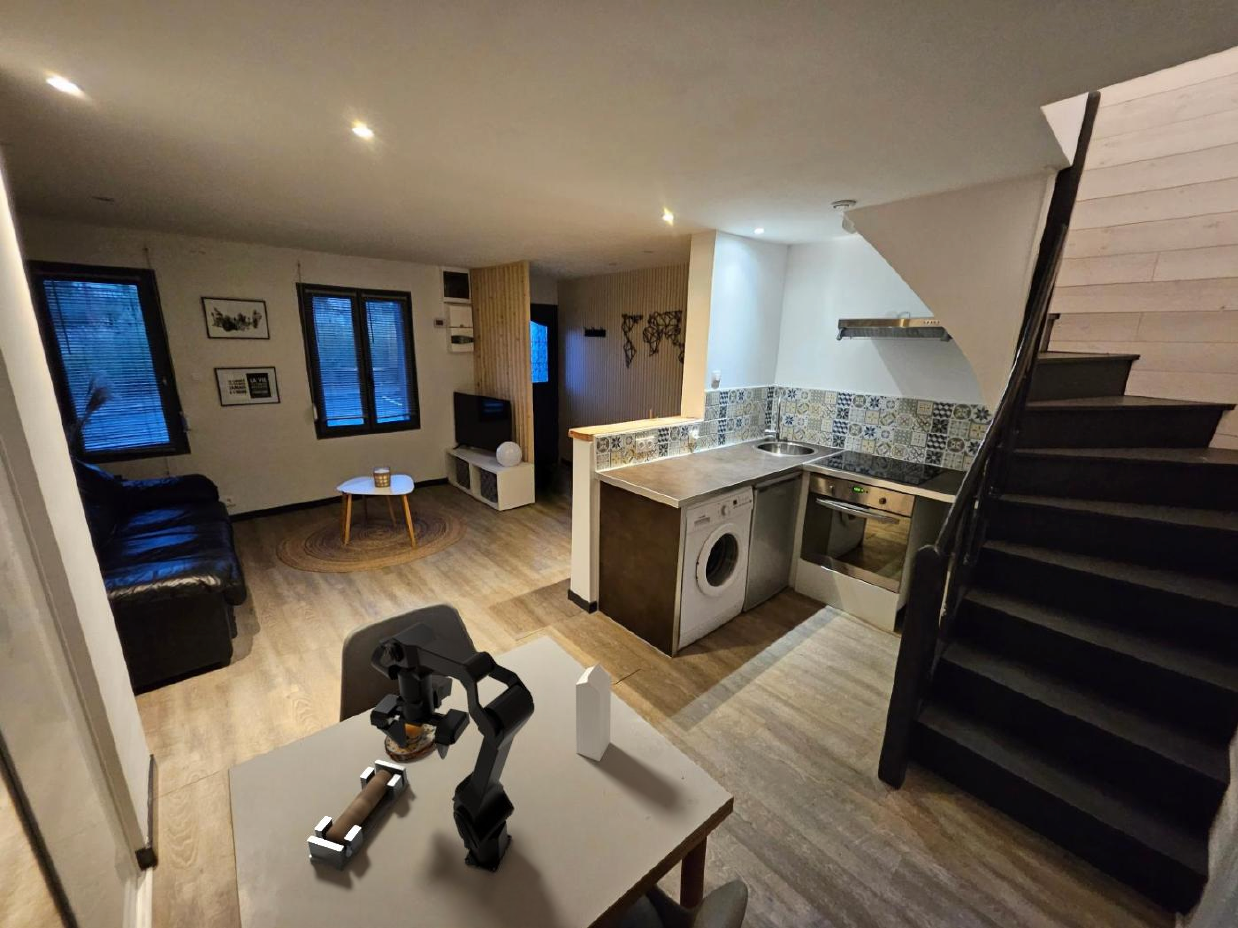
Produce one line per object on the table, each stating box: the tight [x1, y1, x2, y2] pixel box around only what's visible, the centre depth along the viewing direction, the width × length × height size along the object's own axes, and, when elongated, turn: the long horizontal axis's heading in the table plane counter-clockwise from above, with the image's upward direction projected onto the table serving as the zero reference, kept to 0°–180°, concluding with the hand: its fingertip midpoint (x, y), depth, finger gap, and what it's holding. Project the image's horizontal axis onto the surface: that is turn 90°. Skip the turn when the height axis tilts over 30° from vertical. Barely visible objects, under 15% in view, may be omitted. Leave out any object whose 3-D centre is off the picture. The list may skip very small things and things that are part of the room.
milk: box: [575, 660, 612, 762], centre depth 108 cm, size 6×6×22 cm
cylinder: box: [326, 770, 392, 846], centre depth 93 cm, size 13×4×4 cm, turn 166°
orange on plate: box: [383, 724, 436, 761], centre depth 112 cm, size 12×12×8 cm
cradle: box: [307, 759, 409, 872], centre depth 94 cm, size 8×18×4 cm, turn 166°
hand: (423, 752), depth 95 cm, fingers open, 9 cm apart
